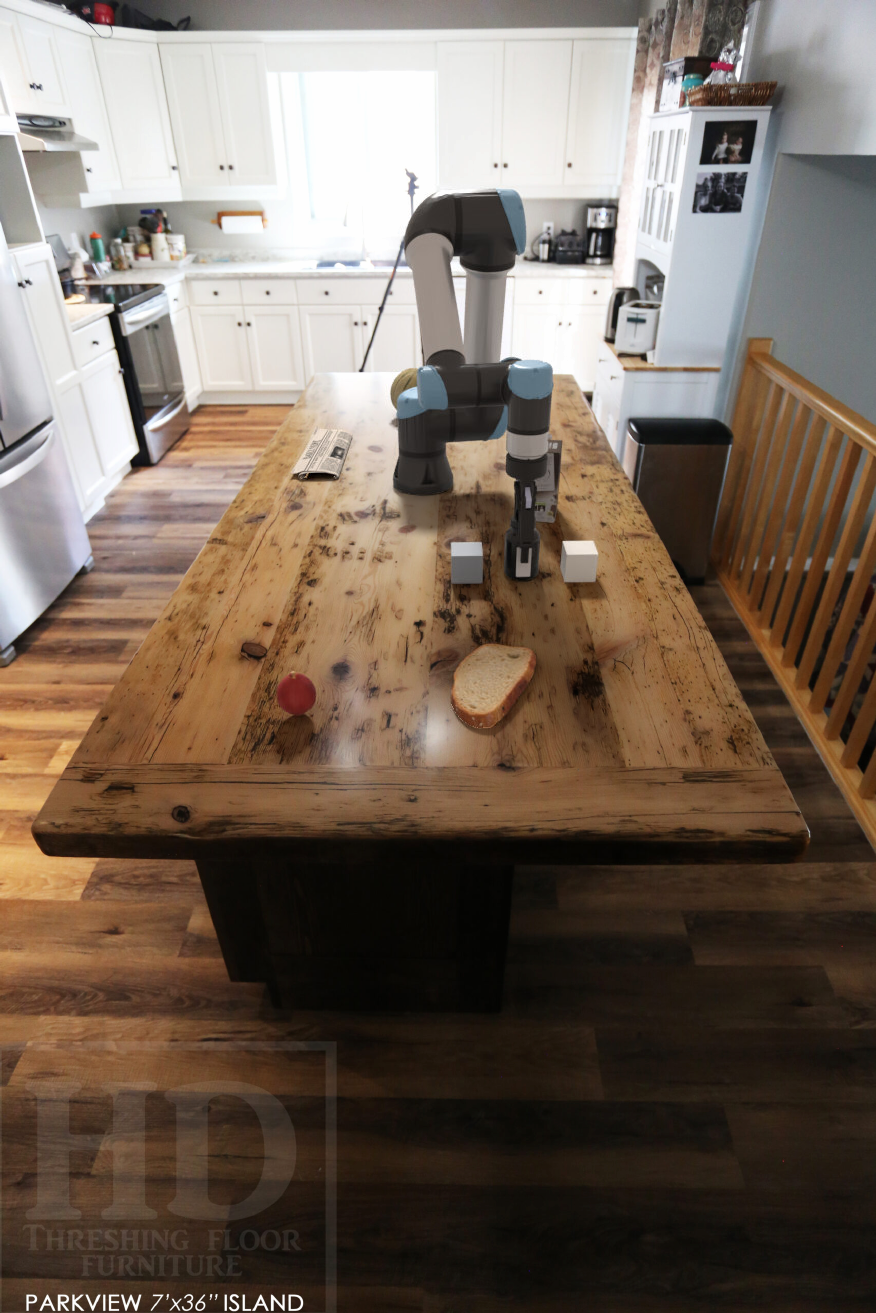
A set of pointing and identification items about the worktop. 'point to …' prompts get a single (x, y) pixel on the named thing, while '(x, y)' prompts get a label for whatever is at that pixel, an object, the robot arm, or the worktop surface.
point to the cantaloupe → (403, 384)
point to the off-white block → (579, 561)
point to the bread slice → (491, 682)
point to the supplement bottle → (511, 550)
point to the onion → (296, 694)
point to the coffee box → (549, 485)
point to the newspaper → (324, 452)
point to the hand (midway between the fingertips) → (521, 566)
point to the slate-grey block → (466, 562)
